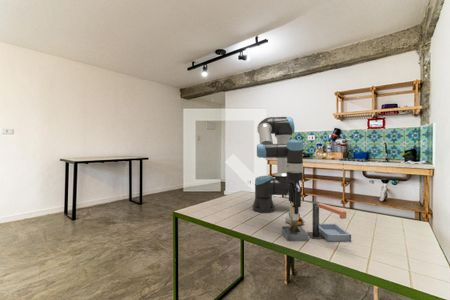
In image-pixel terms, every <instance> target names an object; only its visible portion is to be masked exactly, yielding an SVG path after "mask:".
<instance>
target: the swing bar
mask: <svg viewBox="0 0 450 300" xmlns="http://www.w3.org/2000/svg"><path fill="white" fill-rule="evenodd" d="M313 206H317V207H319V209H323V210H325V211H328V212H332V213H334V214H337V215H339V219H341V220H344V219H347V211H346V210H343V209H340V208H337V207H334V206H331V205H328V204H325V203H323V202H319V201H312V207H313Z"/></svg>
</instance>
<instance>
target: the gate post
mask: <svg viewBox="0 0 450 300" xmlns="http://www.w3.org/2000/svg"><path fill="white" fill-rule="evenodd" d="M319 224H320V207H317V206H313V205H312V227H311V228H312V230H311V231H306V232H307V233H308V237H309V238H311V240H325V237H324V236H323V235H322V234H321V233H320V232H319Z"/></svg>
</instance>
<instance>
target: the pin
mask: <svg viewBox="0 0 450 300" xmlns="http://www.w3.org/2000/svg"><path fill="white" fill-rule="evenodd" d="M292 206H294V205H293V201H291V224H290V226H291V227H290V228H291V229H294V230H296V229H298V226H299V225H298V220H293V207H292Z"/></svg>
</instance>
